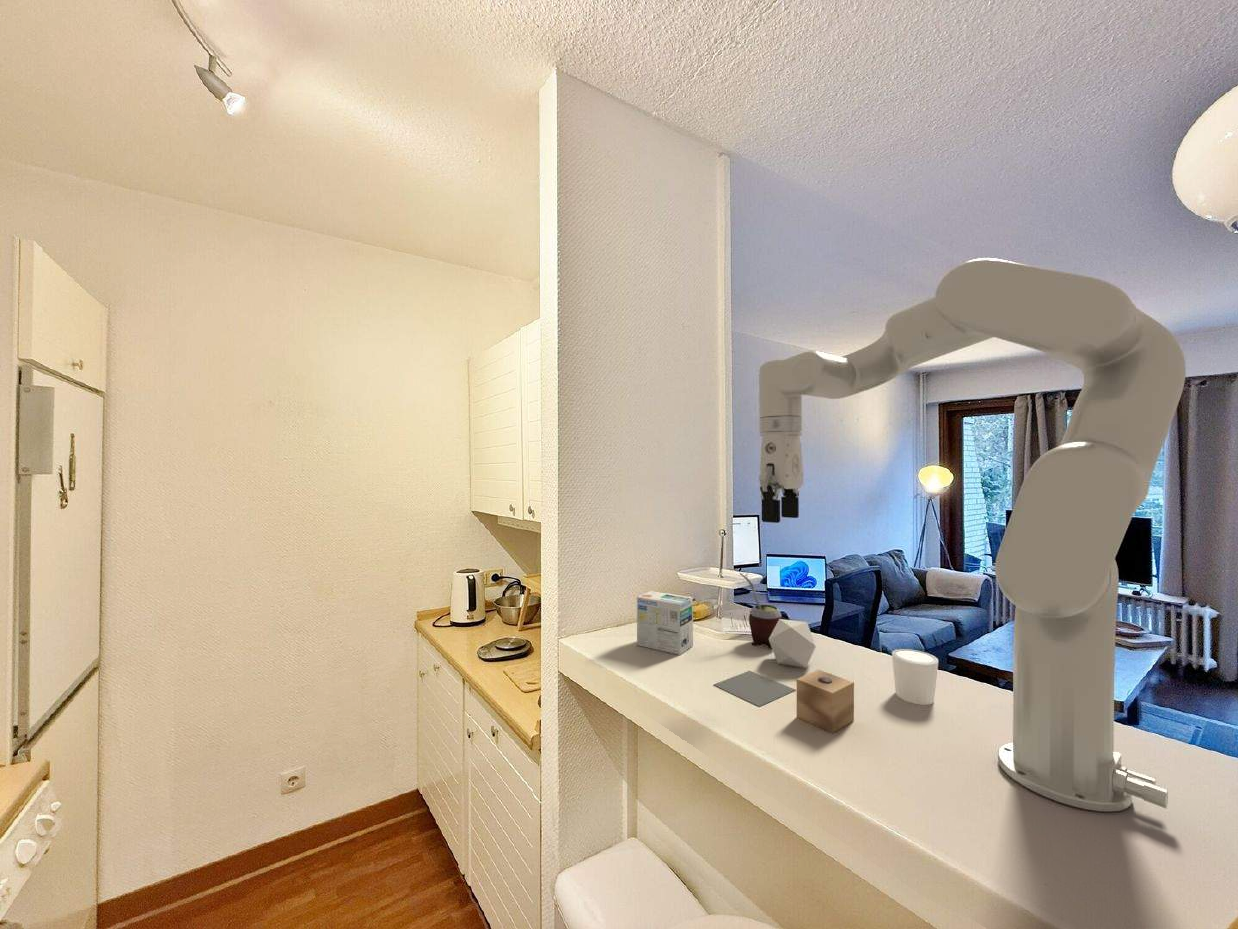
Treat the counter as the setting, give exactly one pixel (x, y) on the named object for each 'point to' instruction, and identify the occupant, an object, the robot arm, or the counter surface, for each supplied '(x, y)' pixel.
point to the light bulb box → (665, 622)
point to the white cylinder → (915, 676)
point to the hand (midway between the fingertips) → (780, 519)
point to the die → (792, 643)
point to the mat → (754, 688)
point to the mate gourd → (762, 620)
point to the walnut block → (825, 700)
